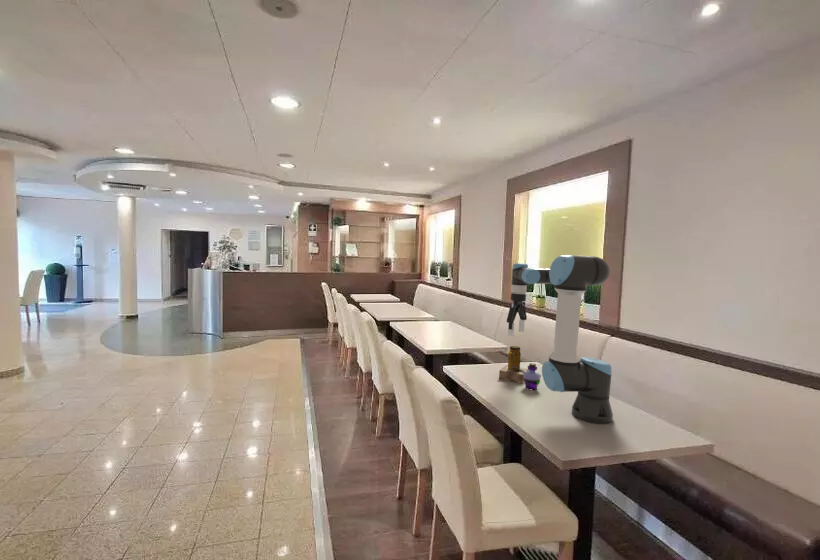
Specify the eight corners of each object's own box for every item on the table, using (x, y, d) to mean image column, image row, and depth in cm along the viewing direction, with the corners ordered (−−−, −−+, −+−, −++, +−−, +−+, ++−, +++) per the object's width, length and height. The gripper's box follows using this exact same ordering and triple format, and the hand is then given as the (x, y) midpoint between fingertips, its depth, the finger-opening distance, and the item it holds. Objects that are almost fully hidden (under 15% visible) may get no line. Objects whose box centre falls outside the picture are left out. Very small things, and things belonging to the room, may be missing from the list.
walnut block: (528, 378, 207) (528, 369, 207) (522, 384, 197) (522, 374, 196) (505, 373, 213) (506, 364, 213) (499, 379, 203) (499, 370, 203)
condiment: (506, 367, 209) (507, 345, 208) (522, 368, 208) (523, 346, 207) (508, 371, 201) (509, 348, 201) (525, 372, 201) (526, 349, 200)
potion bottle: (539, 392, 185) (540, 367, 184) (520, 389, 188) (521, 364, 188) (541, 387, 193) (543, 363, 192) (523, 383, 196) (525, 360, 195)
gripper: (521, 291, 214) (518, 329, 216) (501, 293, 195) (498, 335, 196) (534, 292, 210) (532, 331, 211) (515, 295, 190) (513, 338, 192)
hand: (516, 333), depth 204 cm, fingers open, 13 cm apart
